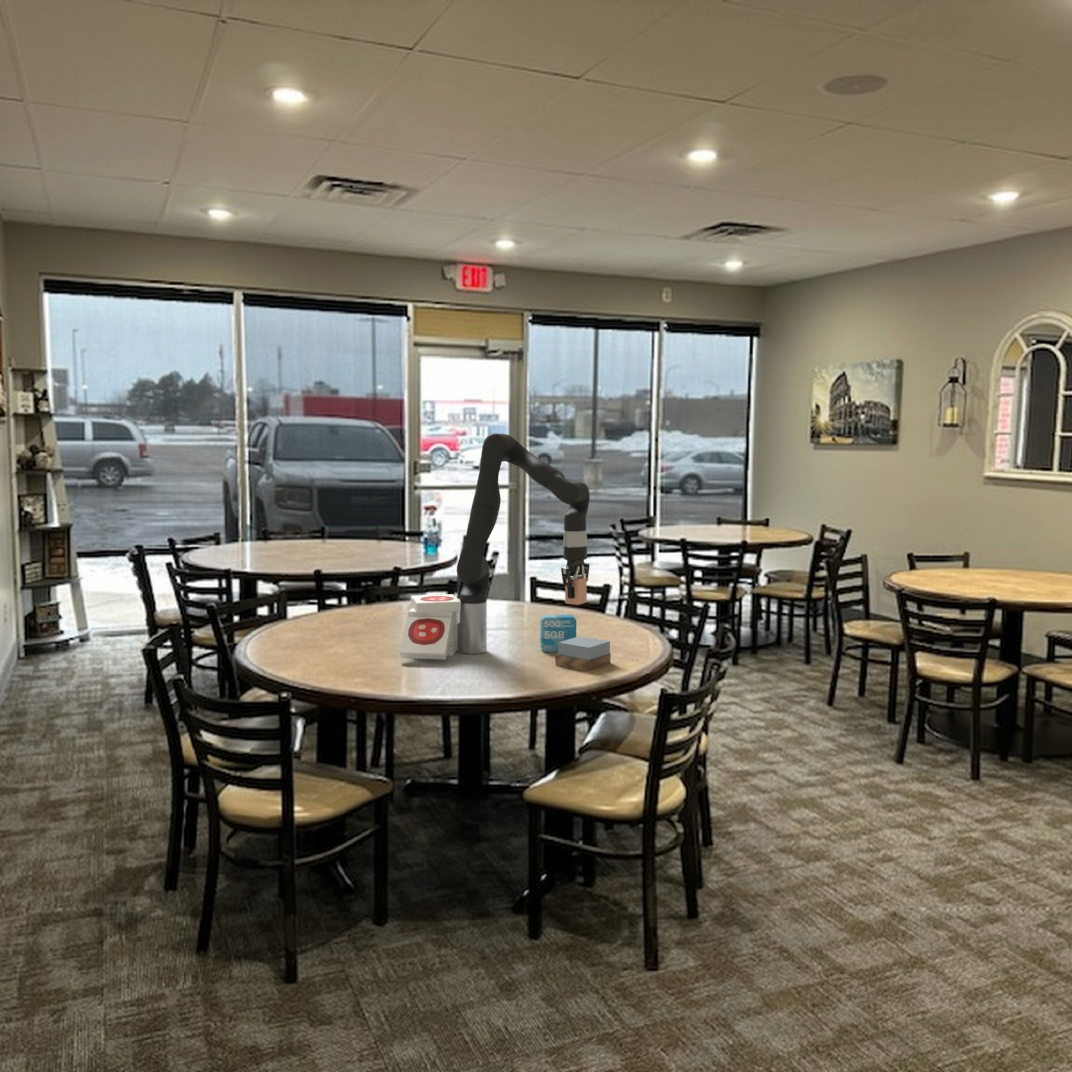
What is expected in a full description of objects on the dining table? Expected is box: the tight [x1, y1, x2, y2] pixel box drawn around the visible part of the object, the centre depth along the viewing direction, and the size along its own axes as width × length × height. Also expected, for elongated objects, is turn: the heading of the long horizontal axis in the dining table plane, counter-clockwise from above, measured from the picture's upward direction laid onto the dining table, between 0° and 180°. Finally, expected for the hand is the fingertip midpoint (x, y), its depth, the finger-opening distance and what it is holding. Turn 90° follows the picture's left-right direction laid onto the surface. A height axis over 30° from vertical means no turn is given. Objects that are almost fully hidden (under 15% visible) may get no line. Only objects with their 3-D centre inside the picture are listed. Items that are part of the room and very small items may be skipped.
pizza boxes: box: [399, 593, 461, 660], centre depth 321 cm, size 19×30×18 cm, turn 175°
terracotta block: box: [564, 577, 588, 606], centre depth 306 cm, size 5×5×8 cm
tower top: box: [557, 635, 611, 660], centre depth 308 cm, size 12×12×4 cm
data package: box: [539, 614, 577, 653], centre depth 328 cm, size 12×4×12 cm, turn 96°
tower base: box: [554, 652, 612, 672], centre depth 309 cm, size 13×13×4 cm
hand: (575, 596), depth 306 cm, fingers closed on terracotta block, 5 cm apart
